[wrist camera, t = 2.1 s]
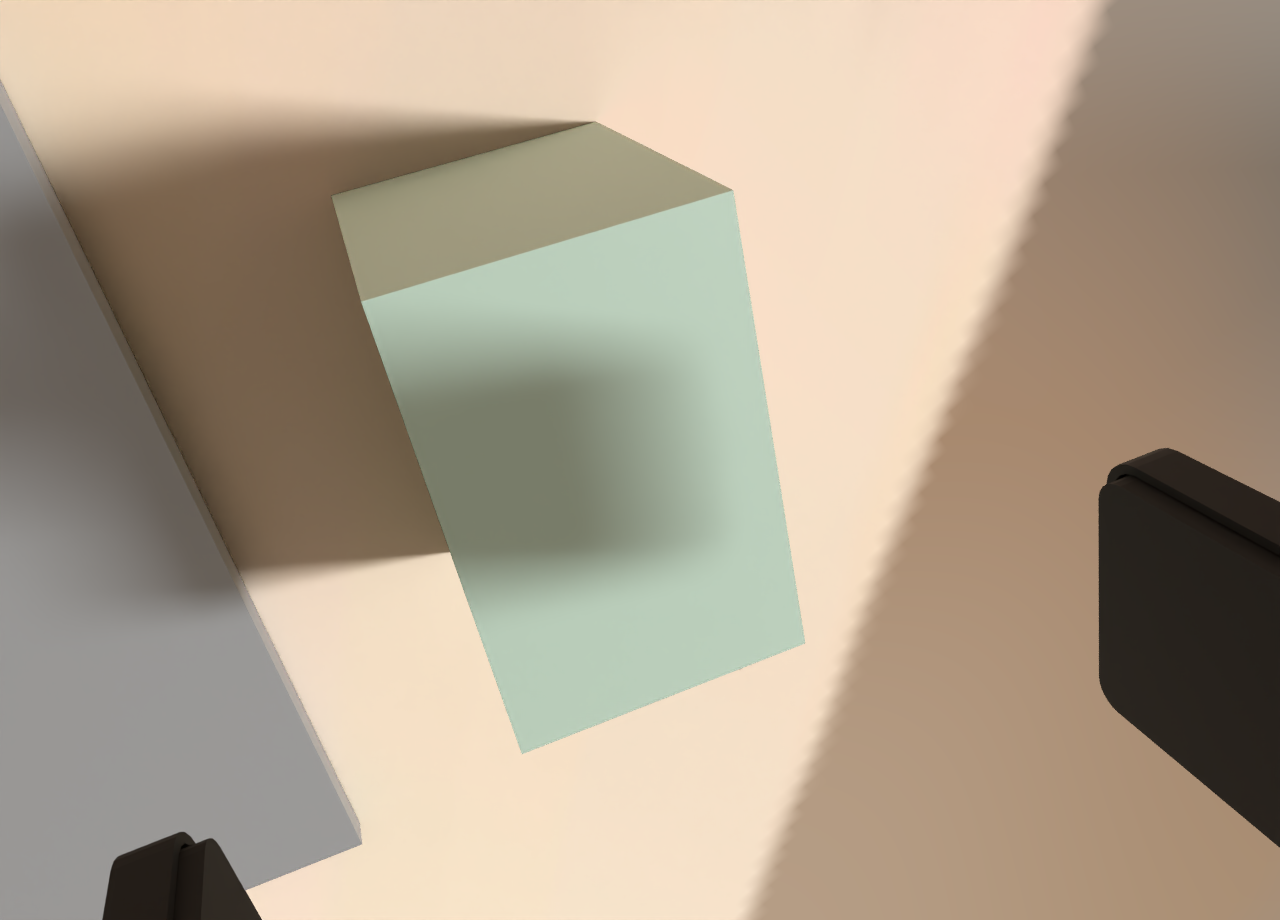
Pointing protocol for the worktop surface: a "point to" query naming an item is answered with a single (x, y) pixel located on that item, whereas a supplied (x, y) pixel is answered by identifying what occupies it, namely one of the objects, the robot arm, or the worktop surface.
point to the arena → (122, 610)
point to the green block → (584, 416)
